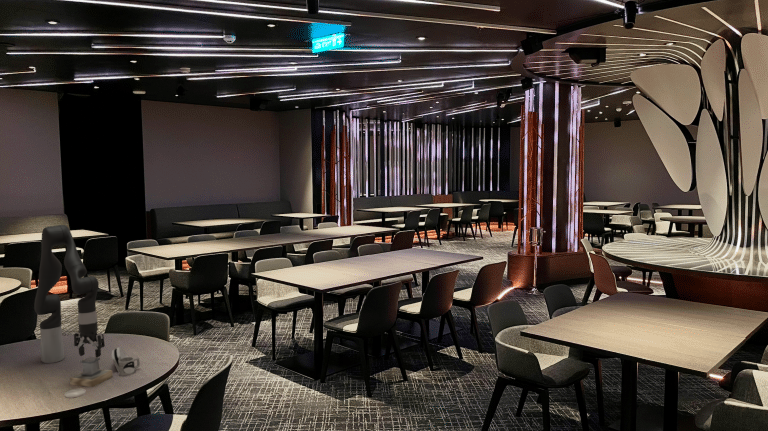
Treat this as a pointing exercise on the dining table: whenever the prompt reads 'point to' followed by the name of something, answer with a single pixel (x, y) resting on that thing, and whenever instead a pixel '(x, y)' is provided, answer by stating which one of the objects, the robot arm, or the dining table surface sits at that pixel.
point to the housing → (90, 366)
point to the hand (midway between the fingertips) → (90, 356)
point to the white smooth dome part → (75, 393)
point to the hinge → (118, 356)
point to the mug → (127, 366)
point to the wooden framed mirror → (91, 379)
